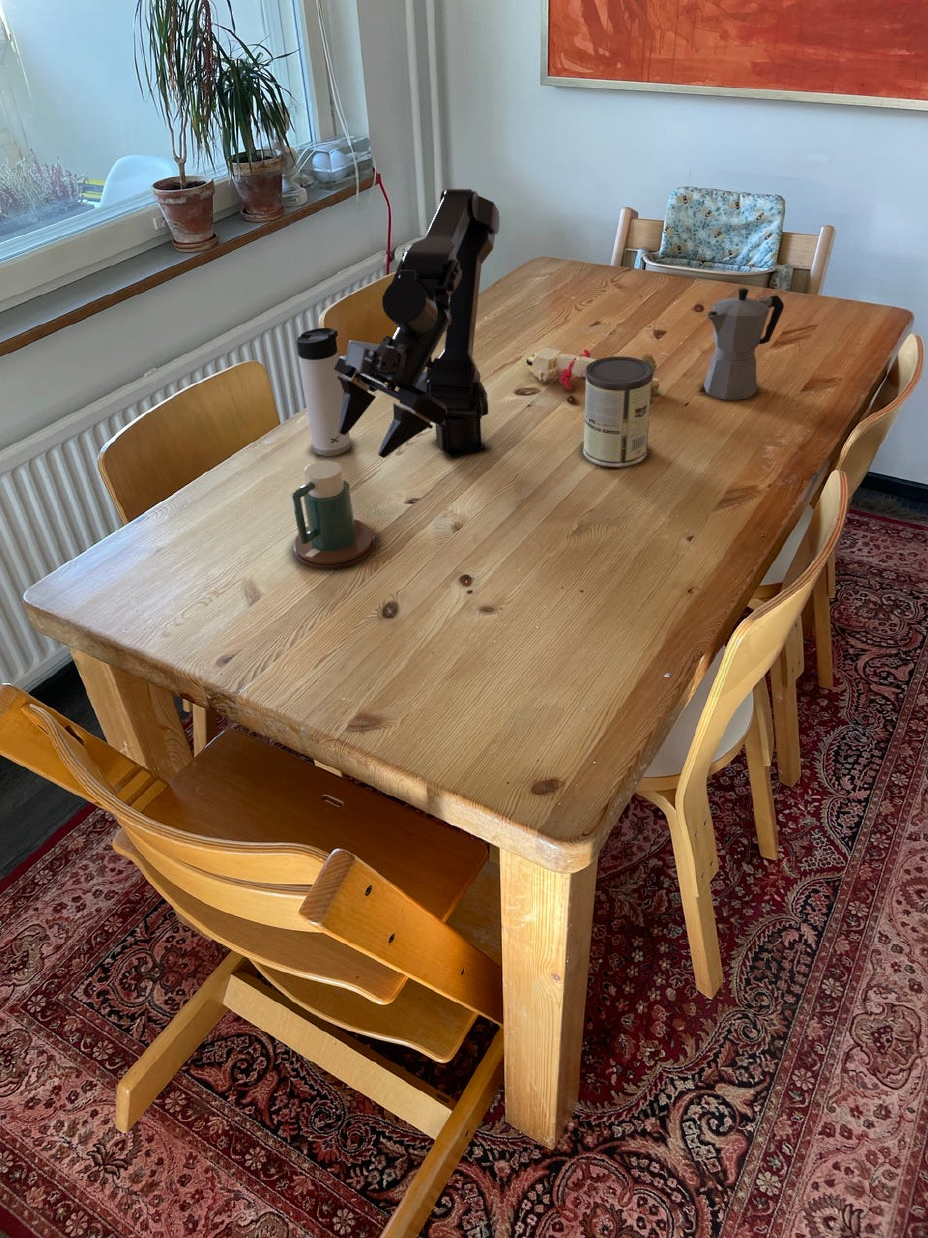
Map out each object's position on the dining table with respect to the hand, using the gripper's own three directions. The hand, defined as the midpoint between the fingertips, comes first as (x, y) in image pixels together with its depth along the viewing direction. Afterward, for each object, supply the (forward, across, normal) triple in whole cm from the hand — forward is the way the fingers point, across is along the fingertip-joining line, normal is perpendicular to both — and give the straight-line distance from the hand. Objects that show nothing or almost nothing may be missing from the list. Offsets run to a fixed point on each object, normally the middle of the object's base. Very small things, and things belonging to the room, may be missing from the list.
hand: (360, 444), depth 129 cm
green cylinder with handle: (+14, +1, +4) cm, 15 cm away
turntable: (+14, +1, +4) cm, 15 cm away
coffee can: (-18, +11, +39) cm, 45 cm away
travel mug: (+3, -24, +16) cm, 29 cm away
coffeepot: (-40, +10, +63) cm, 76 cm away
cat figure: (-29, -10, +51) cm, 59 cm away
